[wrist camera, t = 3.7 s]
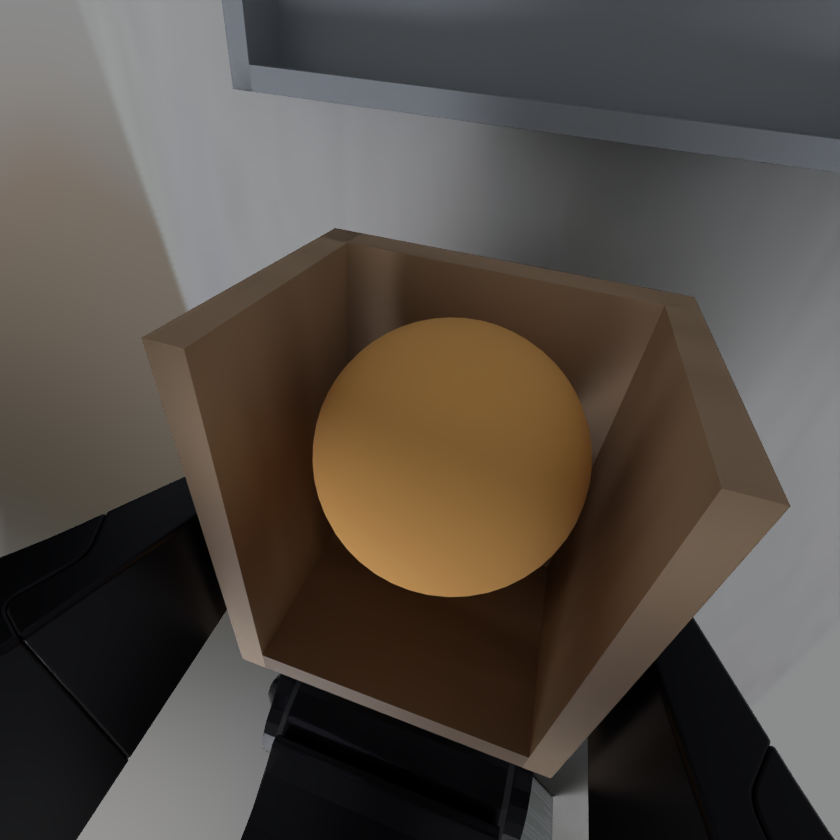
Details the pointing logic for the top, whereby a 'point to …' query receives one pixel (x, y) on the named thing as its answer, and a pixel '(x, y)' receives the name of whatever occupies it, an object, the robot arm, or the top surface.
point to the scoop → (504, 608)
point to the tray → (566, 67)
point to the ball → (452, 457)
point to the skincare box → (538, 814)
